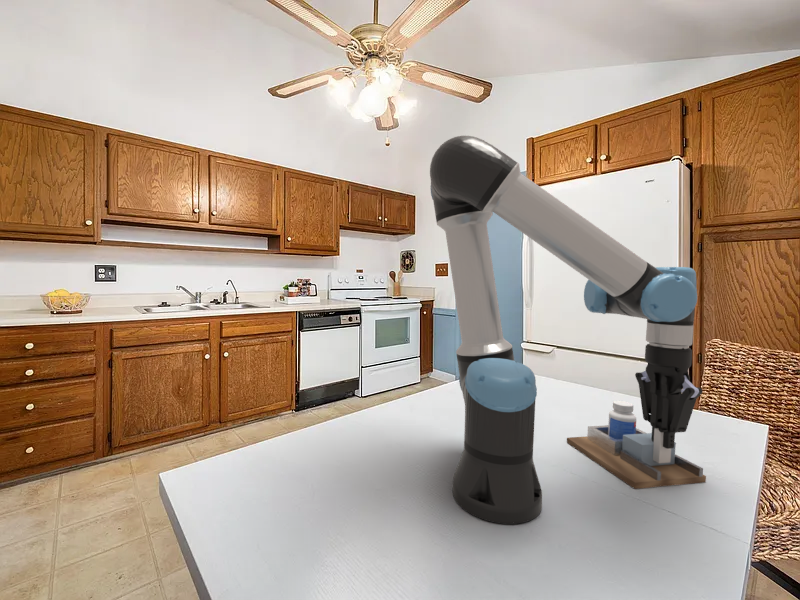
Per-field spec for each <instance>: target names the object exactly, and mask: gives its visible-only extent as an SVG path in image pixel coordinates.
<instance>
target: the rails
mask: <svg viewBox="0 0 800 600" xmlns="http://www.w3.org/2000/svg"><path fill="white" fill-rule="evenodd" d="M620 458H621V459H622V460H624V461H626V462H627V463H629V464H631V465H632V466H634V467H635V468H637V469H639V470H640V471H642V472H644V473H645V474H647V475H649V476H650V477H652V478H653V479H655V480H657V481H659V480H661V472H660V471H658V470H657V469H655V468H653V467H652V466H650V465H648V464H646V463H645V462H643V461H641V460H639V459H638V458H636V457H634V456H632V455H631V454H629V453H627V452H626V451H624V450H623V451H620ZM674 464H676V465H678V466H680V467H682V468H684V469H686V470H687V471H689V472H691V473H693V474H695V475H697V476H699V477H702V476H703V475H704V468H703V467H702V466H699V465H697V464H695V463H693V462H691V461H689V460H688V459H686V458H683V457H681V456H679V455H678V454H676V453H675V463H674Z"/></svg>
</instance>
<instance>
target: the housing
mask: <svg viewBox="0 0 800 600" xmlns="http://www.w3.org/2000/svg"><path fill="white" fill-rule="evenodd" d="M651 438H652V432H649V433H648V432H645V433H644V434H628V435H623V443H622V451H623V450H624V451H626V452H627V453H629V454H631V455H632V456H634V457H636V458H638V459H639V460H641V461H643V462H645V463H646V464H648V465H650V466H658V465H670V464H674V463H675V454H676V444H677V443H676V442H675V441H674V448H671V460H670V462H669V463H657V462H656V461H654V460H653V445H654V442H652V439H651Z"/></svg>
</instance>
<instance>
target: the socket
mask: <svg viewBox="0 0 800 600" xmlns="http://www.w3.org/2000/svg"><path fill="white" fill-rule="evenodd" d="M608 425H609V424H606V425H590V426H587V434H586V435H587V439H588V440H590V441H592V442H593V443H595V444H597V445H598V446H600V447H601V448H603V449H605V450H606V451H608V452H610V453H611V454H613V455H620V451H622V443H623V439H617V440H616V439H614V438H612V437H610V436H608ZM644 433H646V432H645V431H643V430H640V429H639V428H637V427H636V434H644Z"/></svg>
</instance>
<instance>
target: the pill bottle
mask: <svg viewBox="0 0 800 600" xmlns="http://www.w3.org/2000/svg"><path fill="white" fill-rule="evenodd" d="M612 408H613V409H611V410H610V411H609V413H608V424H607V425H608V436H610V437H612V438H614V439H616V440H617V439H623V435H628V434H636V428H637V416H636V415H635V414H634V413H633V412H634V403H631V402H628V401H623V400H613V401H612Z"/></svg>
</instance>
